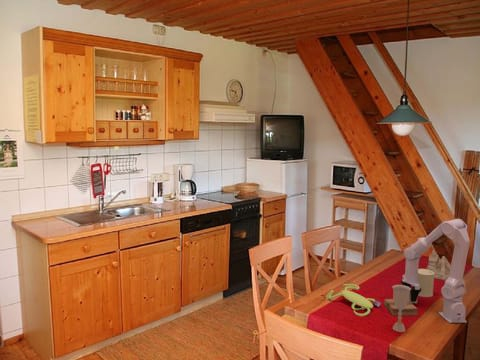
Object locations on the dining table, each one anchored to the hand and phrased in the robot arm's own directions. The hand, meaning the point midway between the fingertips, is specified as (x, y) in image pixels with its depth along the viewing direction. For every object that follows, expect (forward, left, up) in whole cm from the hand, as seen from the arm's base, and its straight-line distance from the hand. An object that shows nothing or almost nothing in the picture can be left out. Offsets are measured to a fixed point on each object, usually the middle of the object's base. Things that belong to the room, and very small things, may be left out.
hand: (409, 298), depth 207 cm
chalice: (-28, +17, -2) cm, 33 cm away
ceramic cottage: (+36, -34, -2) cm, 49 cm away
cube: (0, 0, -2) cm, 2 cm away
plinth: (-10, +9, -1) cm, 14 cm away
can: (+9, -11, -2) cm, 14 cm away
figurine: (-1, +28, -2) cm, 28 cm away
